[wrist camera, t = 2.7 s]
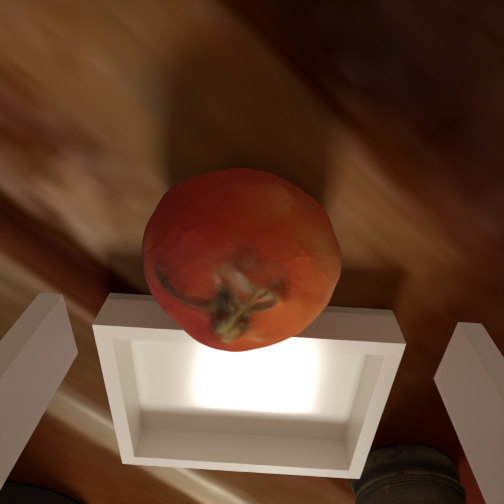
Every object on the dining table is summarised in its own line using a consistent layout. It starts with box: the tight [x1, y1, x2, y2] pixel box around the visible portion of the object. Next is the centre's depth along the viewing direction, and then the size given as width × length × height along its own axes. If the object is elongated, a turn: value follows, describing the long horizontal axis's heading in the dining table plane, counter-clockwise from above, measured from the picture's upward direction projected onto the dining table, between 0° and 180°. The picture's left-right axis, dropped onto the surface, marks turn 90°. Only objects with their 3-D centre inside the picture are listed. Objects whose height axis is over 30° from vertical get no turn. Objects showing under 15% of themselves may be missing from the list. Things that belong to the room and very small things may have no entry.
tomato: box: [142, 168, 342, 352], centre depth 19 cm, size 9×9×8 cm
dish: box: [92, 293, 406, 479], centre depth 28 cm, size 18×14×3 cm
